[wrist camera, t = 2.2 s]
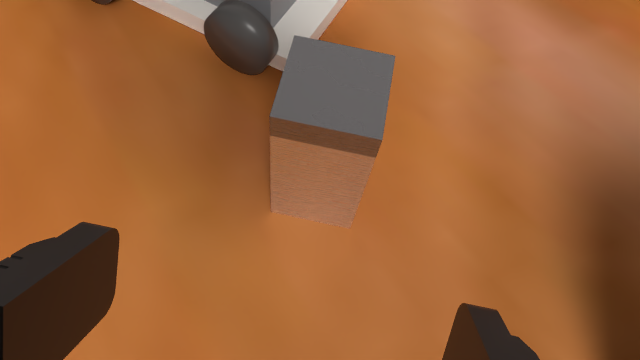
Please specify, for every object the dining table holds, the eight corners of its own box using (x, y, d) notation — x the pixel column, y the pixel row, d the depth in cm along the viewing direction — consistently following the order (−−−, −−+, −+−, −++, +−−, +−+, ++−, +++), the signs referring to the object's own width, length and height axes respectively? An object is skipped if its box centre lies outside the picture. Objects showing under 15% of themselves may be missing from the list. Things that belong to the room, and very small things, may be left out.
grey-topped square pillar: (271, 211, 29) (269, 116, 21) (288, 145, 32) (294, 34, 23) (349, 228, 29) (382, 140, 20) (361, 161, 32) (395, 55, 23)
